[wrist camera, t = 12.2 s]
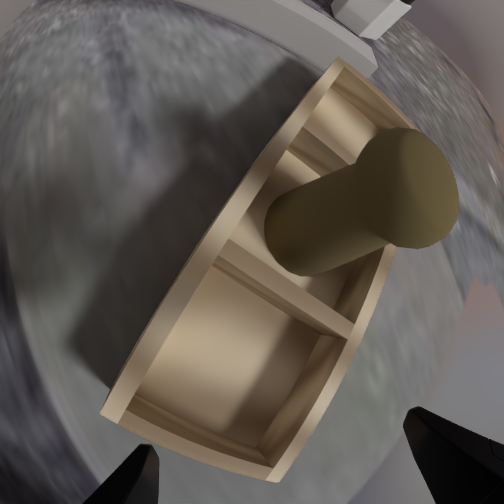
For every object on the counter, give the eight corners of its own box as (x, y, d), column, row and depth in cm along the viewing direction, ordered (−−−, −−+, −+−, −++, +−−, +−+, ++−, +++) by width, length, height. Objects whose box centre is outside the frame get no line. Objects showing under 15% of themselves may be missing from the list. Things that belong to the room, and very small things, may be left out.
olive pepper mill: (346, 270, 20) (484, 245, 9) (271, 283, 18) (416, 261, 7) (331, 190, 20) (449, 123, 10) (257, 190, 18) (366, 88, 8)
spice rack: (255, 455, 16) (278, 483, 13) (110, 389, 14) (99, 413, 10) (396, 149, 26) (422, 134, 22) (317, 79, 24) (338, 56, 20)
